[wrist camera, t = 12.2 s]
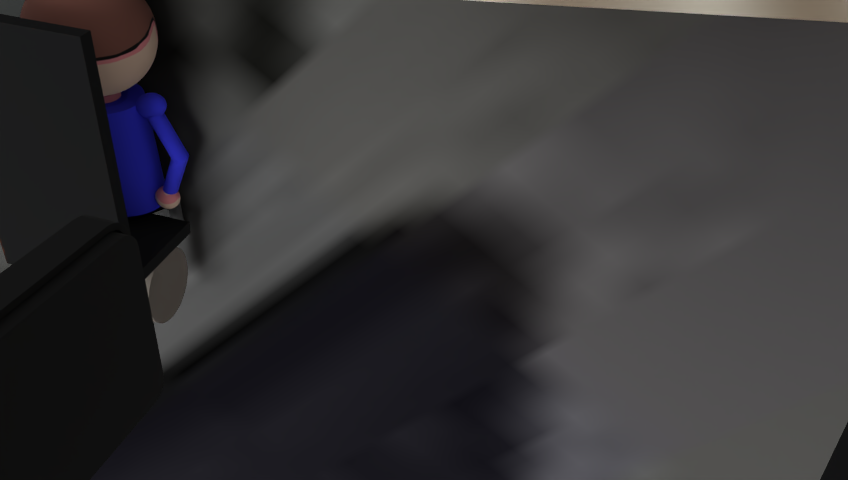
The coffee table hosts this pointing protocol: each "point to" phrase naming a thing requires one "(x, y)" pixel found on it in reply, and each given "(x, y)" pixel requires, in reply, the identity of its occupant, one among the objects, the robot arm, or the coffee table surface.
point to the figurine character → (89, 135)
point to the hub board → (719, 7)
